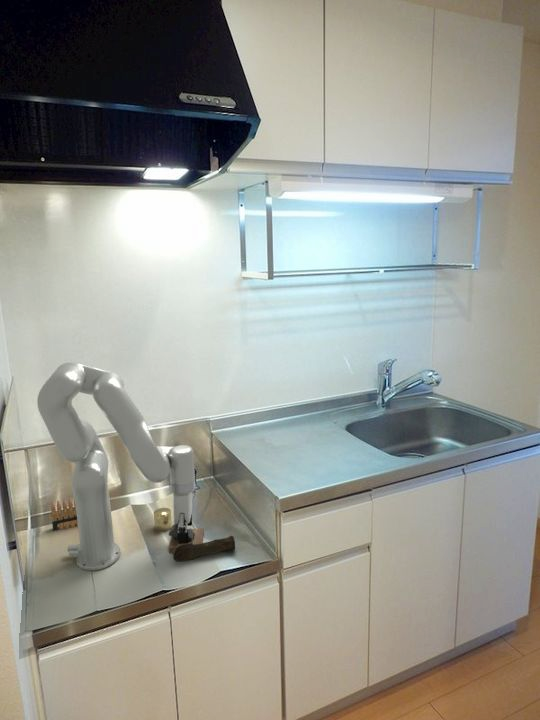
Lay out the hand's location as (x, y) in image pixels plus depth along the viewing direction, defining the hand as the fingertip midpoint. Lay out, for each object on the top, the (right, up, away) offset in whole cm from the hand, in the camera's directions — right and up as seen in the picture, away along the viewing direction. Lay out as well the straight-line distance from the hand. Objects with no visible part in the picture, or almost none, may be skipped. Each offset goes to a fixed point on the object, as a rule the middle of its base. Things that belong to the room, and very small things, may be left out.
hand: (185, 533), depth 146 cm
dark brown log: (+12, -7, -3) cm, 15 cm away
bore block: (0, -3, +1) cm, 4 cm away
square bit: (+1, -2, +1) cm, 3 cm away
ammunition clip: (-41, -3, +9) cm, 42 cm away
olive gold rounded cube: (-9, -2, +9) cm, 13 cm away
